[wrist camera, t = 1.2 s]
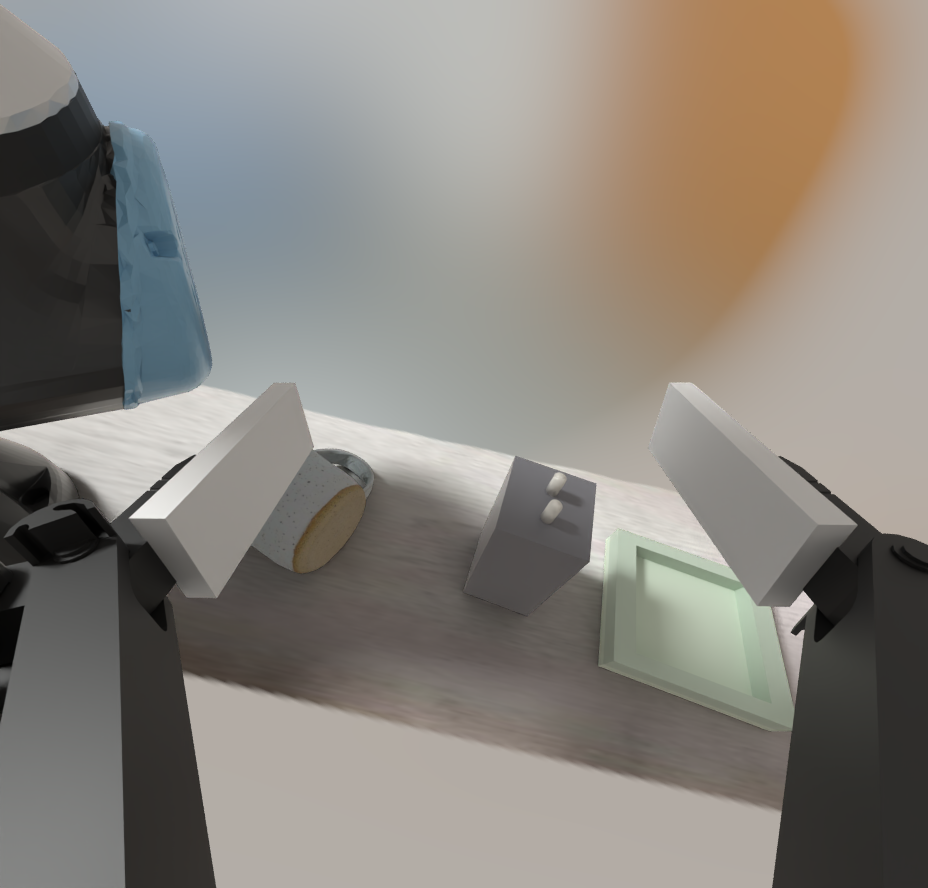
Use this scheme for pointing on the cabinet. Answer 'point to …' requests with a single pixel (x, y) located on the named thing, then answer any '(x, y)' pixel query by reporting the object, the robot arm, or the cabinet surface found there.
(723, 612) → the shallow pale green tray
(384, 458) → the cabinet surface
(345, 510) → the ceramic mug
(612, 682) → the cabinet surface
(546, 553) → the charger brick
